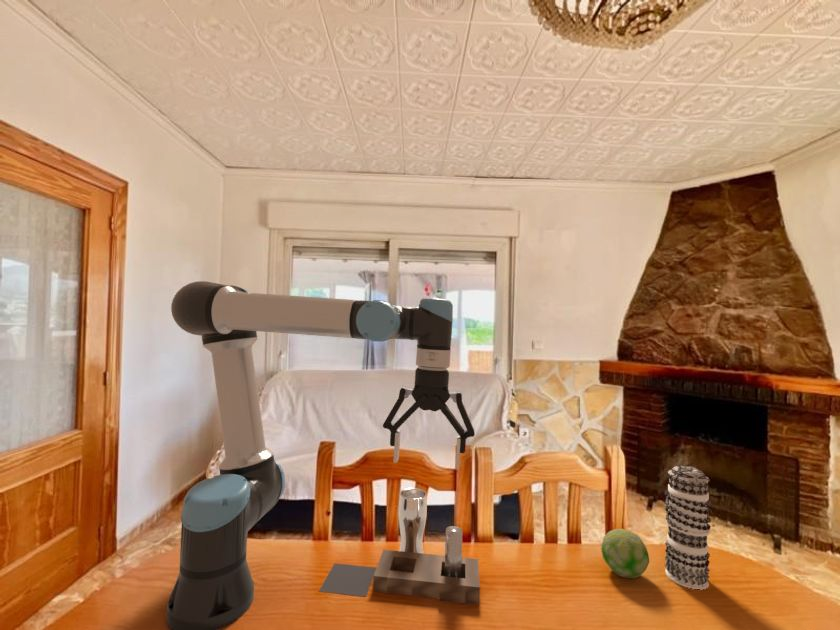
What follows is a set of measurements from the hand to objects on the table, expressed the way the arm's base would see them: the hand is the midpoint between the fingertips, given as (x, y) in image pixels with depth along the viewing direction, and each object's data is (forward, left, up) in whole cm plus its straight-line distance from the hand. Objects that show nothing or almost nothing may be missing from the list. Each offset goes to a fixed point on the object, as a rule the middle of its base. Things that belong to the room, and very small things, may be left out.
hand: (426, 464), depth 89 cm
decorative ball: (+46, +11, -26) cm, 54 cm away
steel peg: (+7, 0, -26) cm, 26 cm away
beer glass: (-4, +10, -26) cm, 28 cm away
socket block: (+1, 0, -26) cm, 26 cm away
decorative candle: (+60, +12, -26) cm, 66 cm away
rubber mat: (-16, -2, -26) cm, 30 cm away
